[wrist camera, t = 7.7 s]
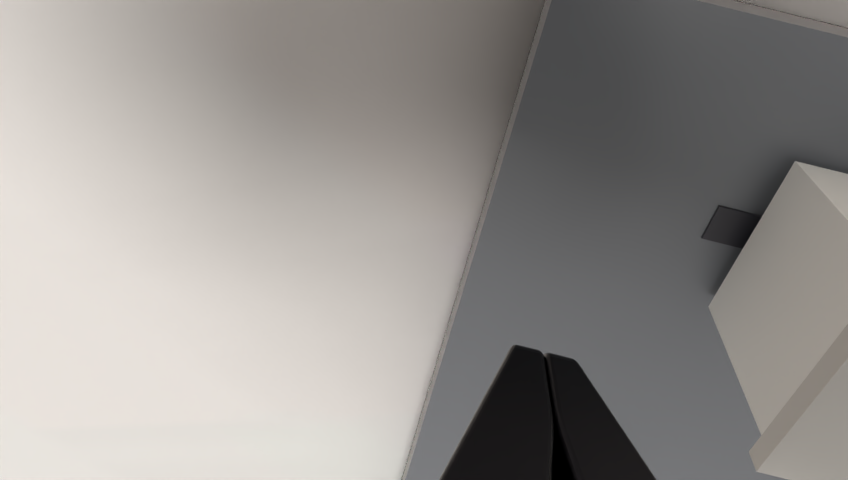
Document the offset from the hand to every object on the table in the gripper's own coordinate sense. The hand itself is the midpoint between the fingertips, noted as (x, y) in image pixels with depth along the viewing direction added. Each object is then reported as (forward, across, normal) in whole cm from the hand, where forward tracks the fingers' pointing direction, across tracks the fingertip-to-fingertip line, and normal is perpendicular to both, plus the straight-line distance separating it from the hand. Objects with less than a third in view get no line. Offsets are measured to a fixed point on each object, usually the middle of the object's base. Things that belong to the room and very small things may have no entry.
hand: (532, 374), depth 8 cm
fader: (+5, -5, 0) cm, 8 cm away
